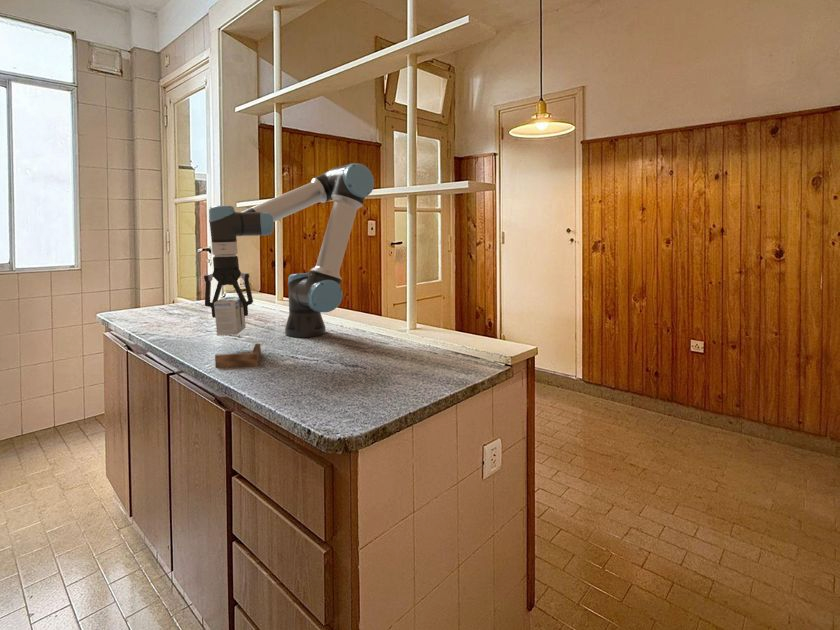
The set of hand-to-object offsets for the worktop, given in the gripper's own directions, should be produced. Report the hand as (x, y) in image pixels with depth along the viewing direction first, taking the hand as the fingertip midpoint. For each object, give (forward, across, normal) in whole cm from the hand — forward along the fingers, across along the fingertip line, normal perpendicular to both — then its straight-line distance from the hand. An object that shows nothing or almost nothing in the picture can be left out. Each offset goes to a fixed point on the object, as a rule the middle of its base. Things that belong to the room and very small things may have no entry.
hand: (231, 326), depth 167 cm
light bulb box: (+2, 0, 0) cm, 2 cm away
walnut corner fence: (+8, +3, -13) cm, 16 cm away
